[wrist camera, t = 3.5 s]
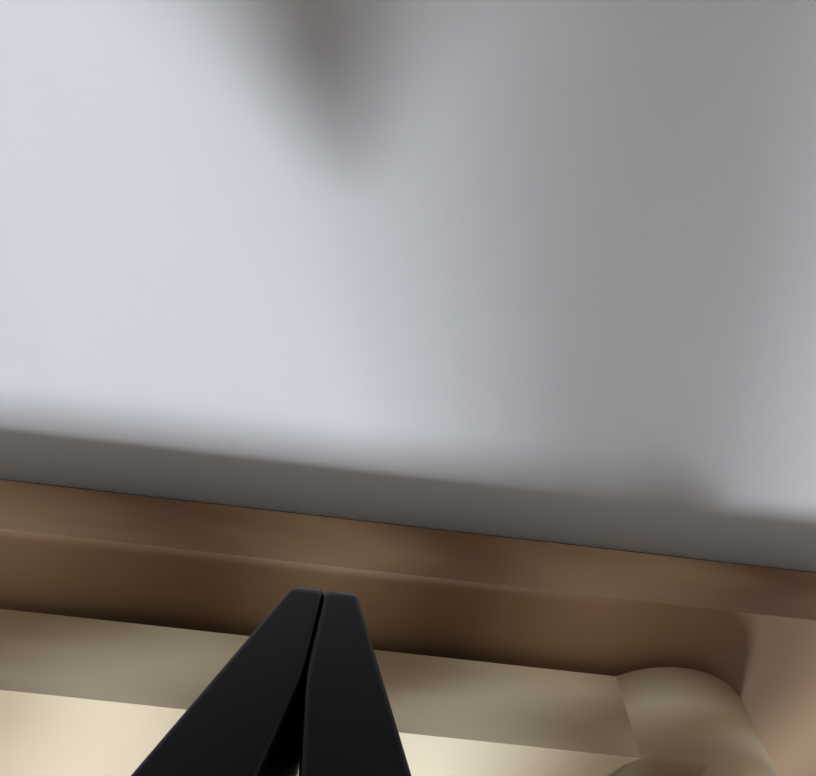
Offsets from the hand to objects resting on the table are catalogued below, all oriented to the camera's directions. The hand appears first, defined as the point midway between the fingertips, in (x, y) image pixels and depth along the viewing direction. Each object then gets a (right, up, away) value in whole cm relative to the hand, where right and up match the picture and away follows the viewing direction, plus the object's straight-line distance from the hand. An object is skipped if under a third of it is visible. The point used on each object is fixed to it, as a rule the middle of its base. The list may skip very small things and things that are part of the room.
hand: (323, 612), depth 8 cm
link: (0, -4, +6) cm, 7 cm away
